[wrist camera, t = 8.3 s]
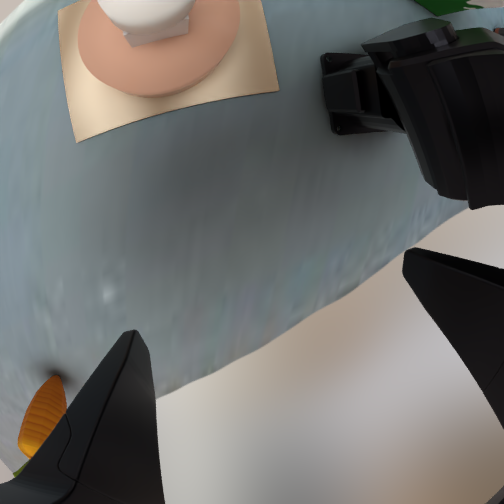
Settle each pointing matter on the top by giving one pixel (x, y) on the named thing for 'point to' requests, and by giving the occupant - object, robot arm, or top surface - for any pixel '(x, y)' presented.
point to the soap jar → (158, 49)
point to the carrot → (41, 417)
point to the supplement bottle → (500, 31)
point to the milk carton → (457, 5)
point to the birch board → (136, 108)
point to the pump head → (146, 14)
